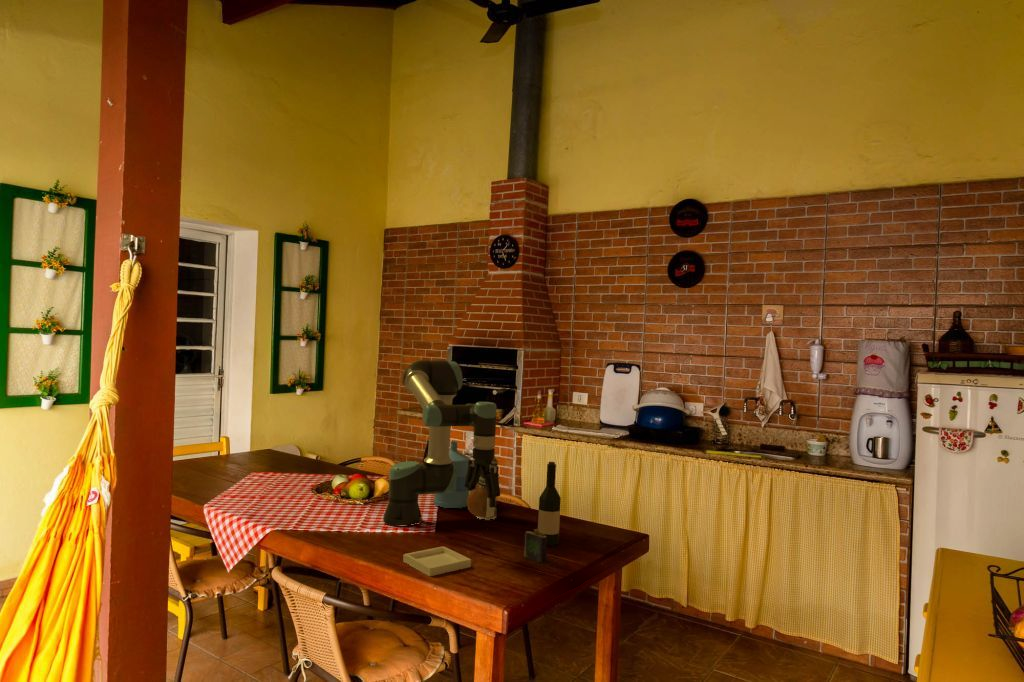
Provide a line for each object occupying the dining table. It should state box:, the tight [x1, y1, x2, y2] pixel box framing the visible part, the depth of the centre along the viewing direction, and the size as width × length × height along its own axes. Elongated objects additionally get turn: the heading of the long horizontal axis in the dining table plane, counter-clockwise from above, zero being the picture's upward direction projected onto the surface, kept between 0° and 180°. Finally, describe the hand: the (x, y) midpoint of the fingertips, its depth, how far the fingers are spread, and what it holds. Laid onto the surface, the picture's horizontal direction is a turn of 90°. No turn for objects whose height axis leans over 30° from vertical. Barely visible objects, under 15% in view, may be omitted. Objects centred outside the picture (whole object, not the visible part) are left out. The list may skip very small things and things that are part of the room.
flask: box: [523, 528, 547, 564], centre depth 236 cm, size 9×3×11 cm, turn 48°
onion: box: [466, 487, 489, 517], centre depth 235 cm, size 10×10×10 cm
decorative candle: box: [475, 456, 500, 521], centre depth 286 cm, size 9×9×25 cm
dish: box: [402, 545, 472, 577], centre depth 226 cm, size 16×16×2 cm
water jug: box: [433, 440, 471, 509], centre depth 304 cm, size 16×16×28 cm
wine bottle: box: [537, 461, 562, 546], centre depth 255 cm, size 8×8×30 cm
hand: (480, 512), depth 235 cm, fingers closed on onion, 10 cm apart
